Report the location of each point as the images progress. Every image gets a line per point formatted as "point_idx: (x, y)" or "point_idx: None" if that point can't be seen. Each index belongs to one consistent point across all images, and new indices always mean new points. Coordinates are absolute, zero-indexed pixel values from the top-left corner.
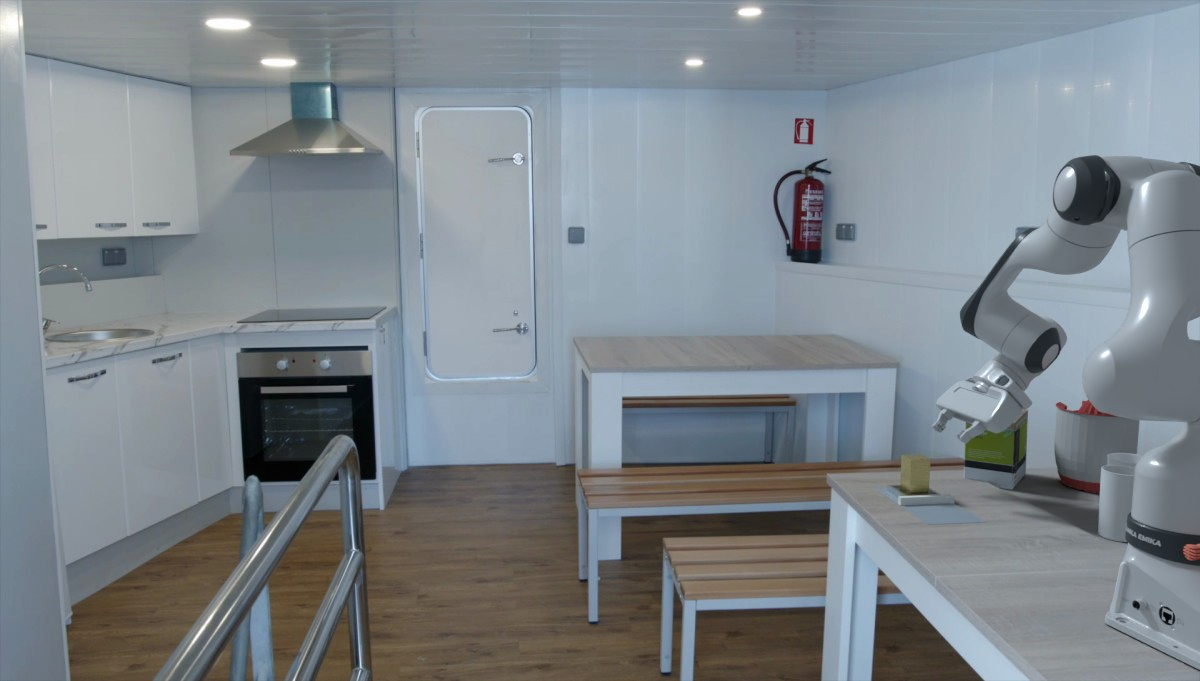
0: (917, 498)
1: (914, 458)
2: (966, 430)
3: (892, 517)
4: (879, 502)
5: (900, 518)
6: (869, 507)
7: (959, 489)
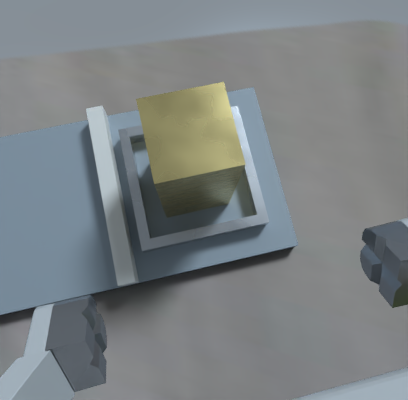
0: (95, 160)
1: (156, 117)
2: (30, 359)
3: (36, 92)
4: (167, 88)
5: (28, 110)
6: (120, 54)
7: (338, 369)
